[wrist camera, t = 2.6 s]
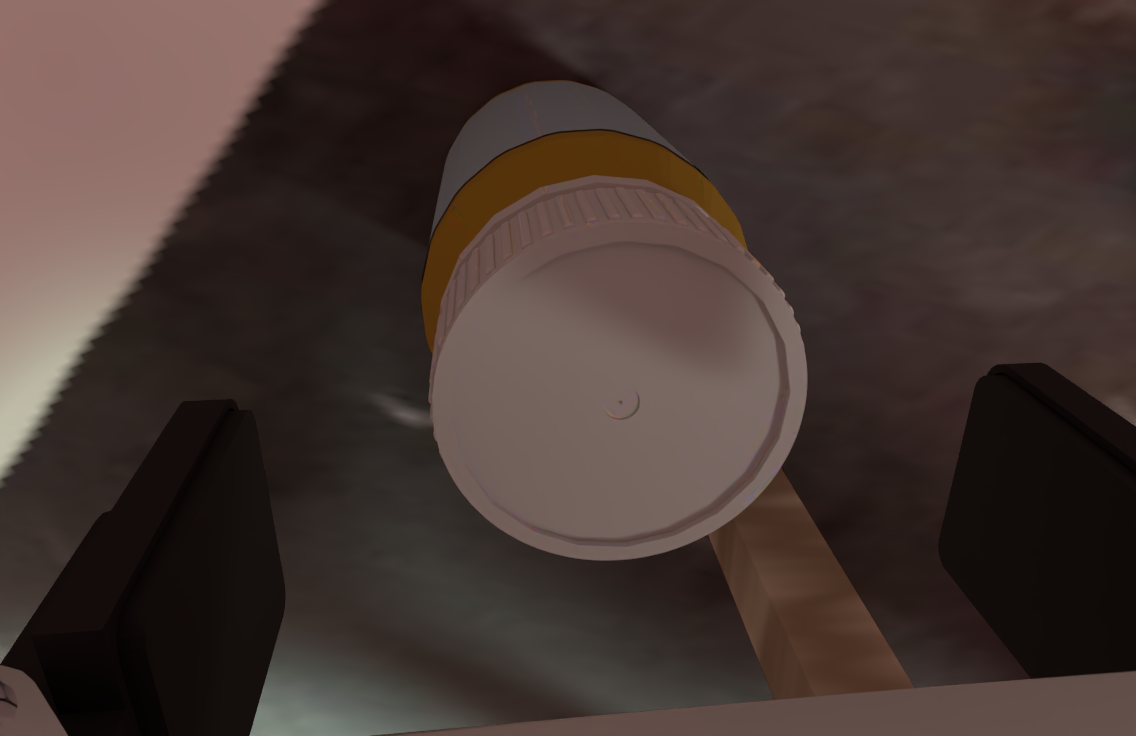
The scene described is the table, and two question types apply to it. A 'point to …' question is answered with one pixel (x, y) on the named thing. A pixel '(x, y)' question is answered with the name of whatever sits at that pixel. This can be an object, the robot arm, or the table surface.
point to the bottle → (600, 332)
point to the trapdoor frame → (801, 602)
